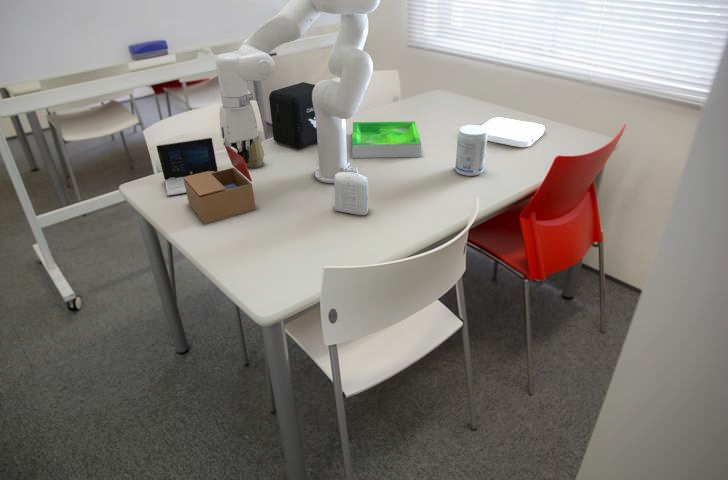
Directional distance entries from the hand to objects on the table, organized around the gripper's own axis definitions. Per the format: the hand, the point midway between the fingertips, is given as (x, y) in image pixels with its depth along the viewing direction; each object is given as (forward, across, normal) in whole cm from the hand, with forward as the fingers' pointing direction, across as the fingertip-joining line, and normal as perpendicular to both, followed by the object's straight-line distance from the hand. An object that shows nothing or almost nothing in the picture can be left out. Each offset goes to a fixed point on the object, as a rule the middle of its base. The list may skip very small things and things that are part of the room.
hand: (244, 161), depth 154 cm
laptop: (+13, +11, -21) cm, 27 cm away
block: (+12, +6, 0) cm, 13 cm away
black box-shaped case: (+12, -39, -36) cm, 54 cm away
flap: (0, +2, 0) cm, 2 cm away
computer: (+12, -108, +6) cm, 109 cm away
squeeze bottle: (+13, -12, -25) cm, 30 cm away
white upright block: (+13, -22, +25) cm, 36 cm away
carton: (+13, +9, 0) cm, 16 cm away
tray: (+12, -62, -14) cm, 65 cm away
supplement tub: (+12, -71, +23) cm, 76 cm away
